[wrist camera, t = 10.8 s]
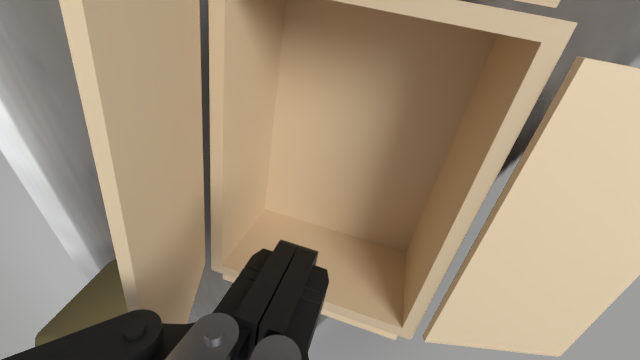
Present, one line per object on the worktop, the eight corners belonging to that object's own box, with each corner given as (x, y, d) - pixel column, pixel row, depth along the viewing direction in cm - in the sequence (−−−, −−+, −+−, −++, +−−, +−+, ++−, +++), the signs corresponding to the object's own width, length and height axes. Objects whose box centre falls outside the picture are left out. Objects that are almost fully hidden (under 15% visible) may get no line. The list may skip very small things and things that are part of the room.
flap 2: (584, 58, 11) (808, 101, 12) (576, 56, 11) (794, 97, 12) (424, 341, 20) (559, 356, 20) (422, 335, 20) (555, 350, 21)
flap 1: (188, -23, 13) (52, -31, 6) (198, -21, 13) (76, -26, 6) (199, 262, 22) (150, 412, 14) (205, 263, 22) (159, 412, 14)
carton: (283, -74, 19) (207, -120, 12) (538, -30, 17) (619, -57, 10) (257, 228, 31) (211, 290, 24) (404, 276, 29) (400, 359, 22)
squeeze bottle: (198, 265, 36) (34, 456, 20) (180, 300, 40) (32, 481, 25) (137, 226, 35) (-77, 390, 20) (125, 266, 40) (-58, 427, 24)
